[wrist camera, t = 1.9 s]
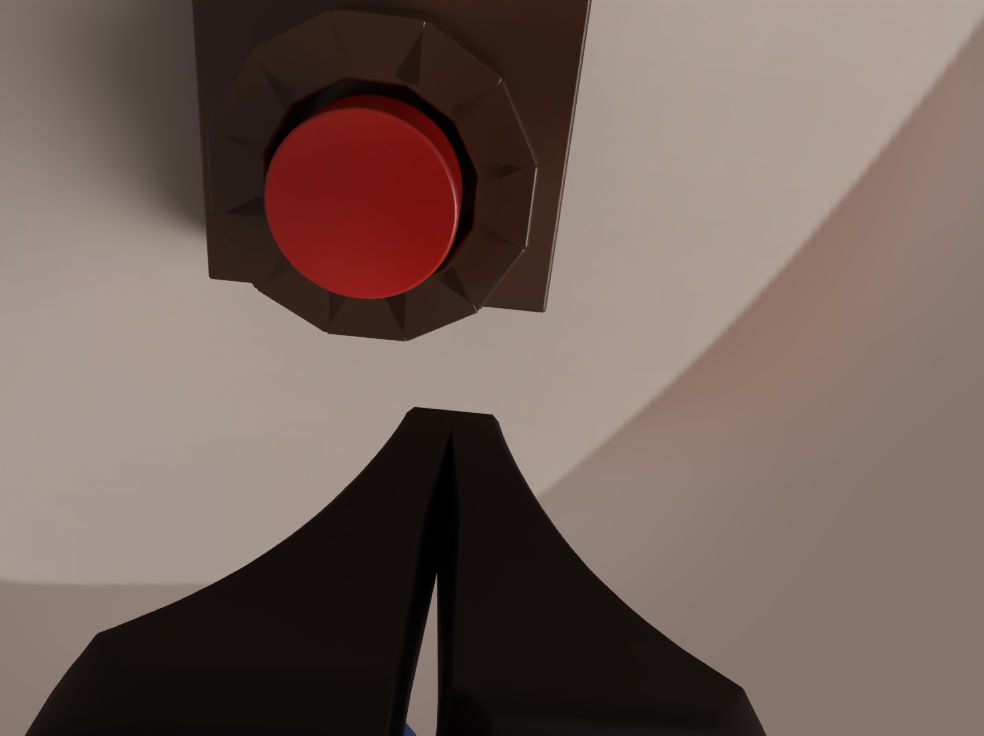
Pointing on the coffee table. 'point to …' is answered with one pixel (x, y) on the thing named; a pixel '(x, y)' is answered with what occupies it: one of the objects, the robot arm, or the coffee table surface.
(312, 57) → the switch box
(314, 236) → the light button
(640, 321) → the coffee table surface
